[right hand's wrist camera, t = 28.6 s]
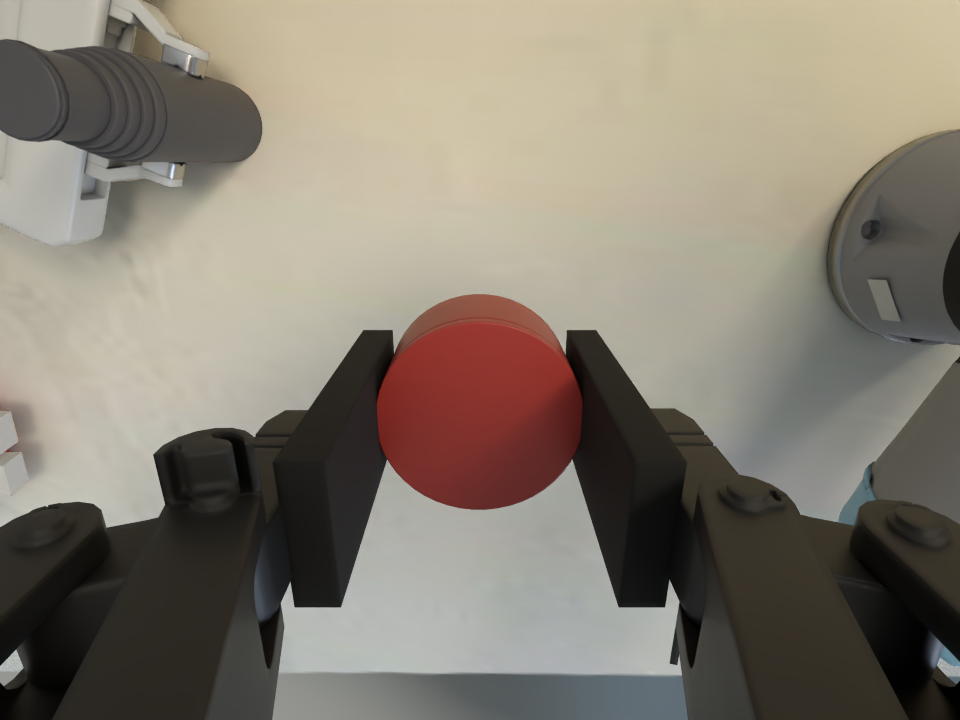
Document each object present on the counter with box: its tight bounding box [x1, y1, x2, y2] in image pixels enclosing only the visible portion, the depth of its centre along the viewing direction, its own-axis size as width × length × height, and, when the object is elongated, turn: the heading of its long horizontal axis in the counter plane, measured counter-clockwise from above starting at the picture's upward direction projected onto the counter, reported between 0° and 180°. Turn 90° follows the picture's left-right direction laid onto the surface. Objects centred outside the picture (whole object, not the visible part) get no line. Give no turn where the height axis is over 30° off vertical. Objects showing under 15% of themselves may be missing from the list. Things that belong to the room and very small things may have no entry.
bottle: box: [0, 39, 262, 162], centre depth 29 cm, size 5×5×18 cm
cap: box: [377, 294, 583, 510], centre depth 13 cm, size 5×5×2 cm
